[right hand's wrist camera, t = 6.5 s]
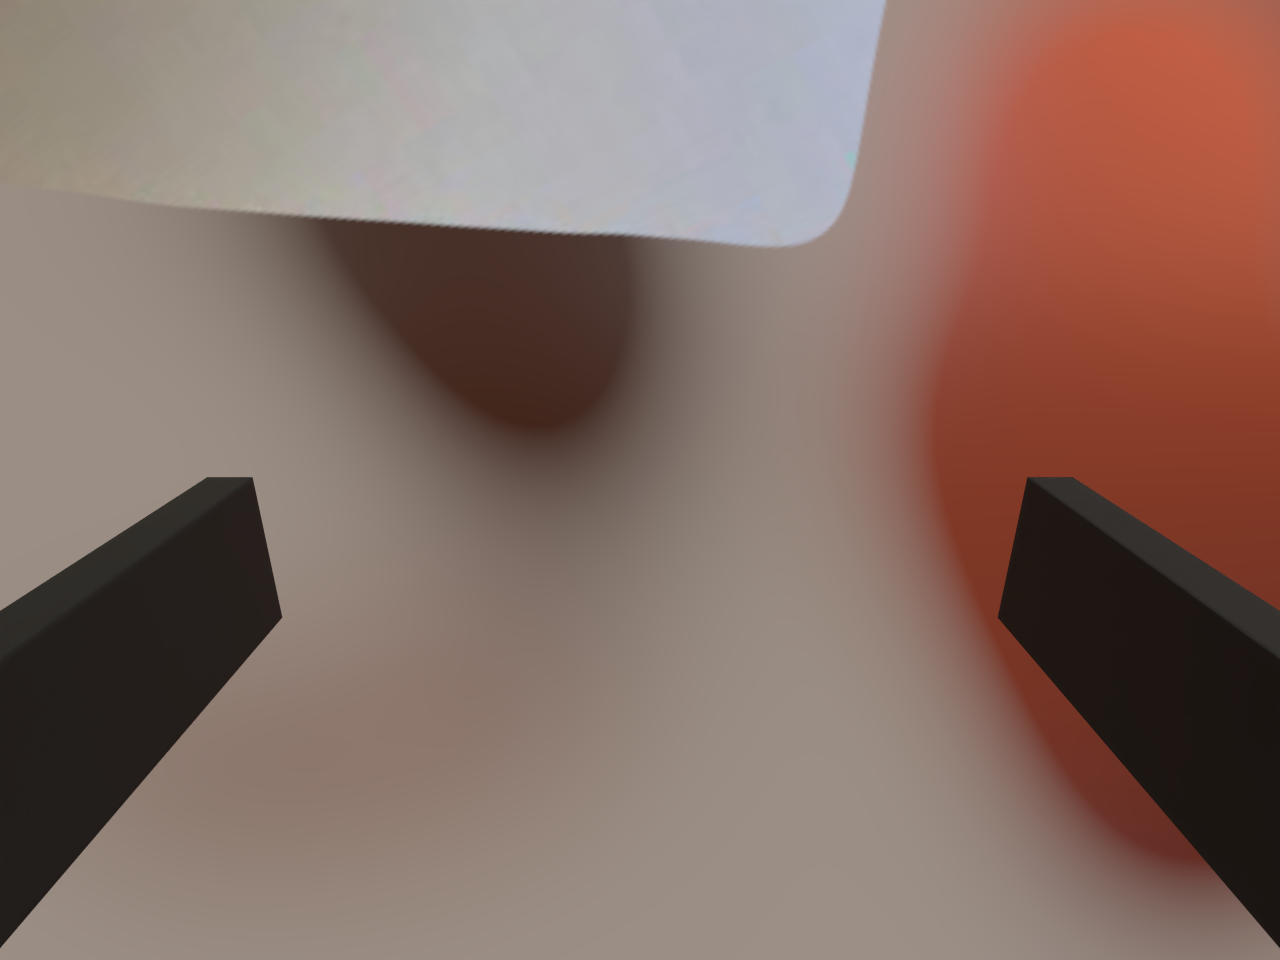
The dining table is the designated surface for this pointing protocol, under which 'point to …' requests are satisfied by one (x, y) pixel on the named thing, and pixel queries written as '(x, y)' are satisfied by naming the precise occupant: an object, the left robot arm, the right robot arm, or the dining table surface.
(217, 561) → the right robot arm
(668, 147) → the dining table surface
